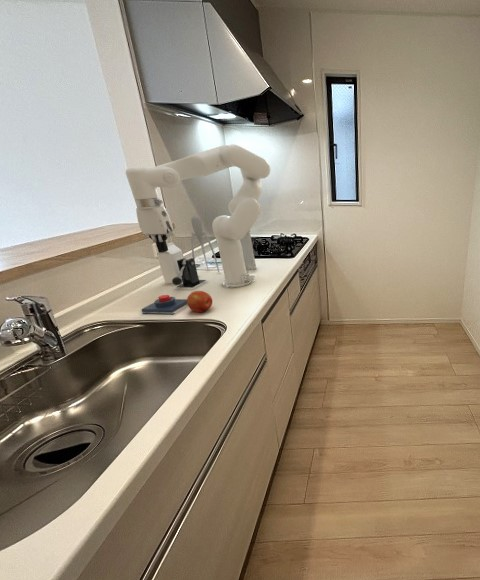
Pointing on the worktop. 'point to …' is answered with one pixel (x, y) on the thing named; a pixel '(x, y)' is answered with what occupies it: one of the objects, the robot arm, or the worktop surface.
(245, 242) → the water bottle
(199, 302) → the apple
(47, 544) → the worktop surface
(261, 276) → the worktop surface
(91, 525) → the worktop surface
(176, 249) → the milk carton
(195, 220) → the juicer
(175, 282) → the lever
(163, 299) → the button
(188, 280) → the bracket
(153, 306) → the button box
